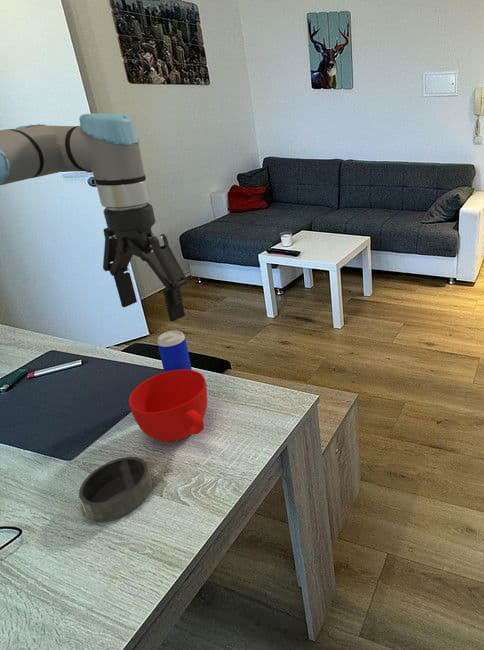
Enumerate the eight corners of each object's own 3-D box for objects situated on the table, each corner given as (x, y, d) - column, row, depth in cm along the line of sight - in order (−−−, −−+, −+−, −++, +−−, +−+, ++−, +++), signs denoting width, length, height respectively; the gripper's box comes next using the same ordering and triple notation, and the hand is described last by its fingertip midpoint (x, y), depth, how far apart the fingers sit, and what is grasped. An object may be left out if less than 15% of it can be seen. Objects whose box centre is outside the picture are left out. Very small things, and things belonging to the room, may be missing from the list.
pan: (71, 512, 69) (64, 494, 67) (124, 467, 77) (119, 450, 75) (115, 531, 66) (108, 513, 64) (165, 483, 74) (160, 465, 72)
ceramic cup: (172, 478, 75) (160, 434, 71) (128, 435, 84) (115, 393, 80) (238, 434, 84) (231, 393, 81) (192, 400, 94) (183, 361, 90)
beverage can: (187, 384, 99) (174, 327, 93) (201, 392, 96) (189, 333, 91) (165, 396, 95) (151, 337, 89) (179, 405, 92) (166, 345, 87)
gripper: (195, 208, 75) (215, 315, 83) (103, 194, 85) (128, 291, 93) (157, 218, 69) (182, 333, 77) (61, 202, 78) (92, 306, 86)
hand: (152, 311), depth 85 cm, fingers open, 13 cm apart
